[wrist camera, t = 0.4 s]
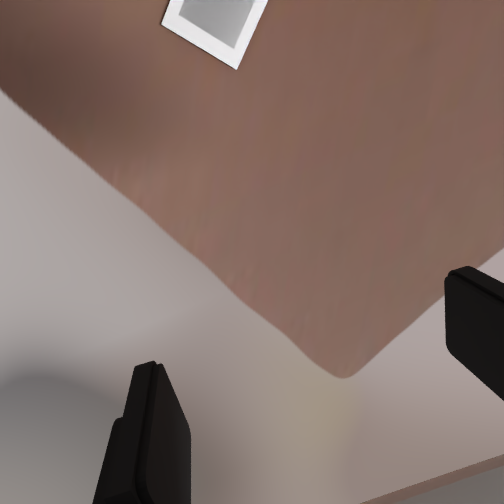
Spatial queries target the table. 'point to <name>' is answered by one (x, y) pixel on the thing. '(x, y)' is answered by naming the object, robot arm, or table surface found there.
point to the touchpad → (216, 25)
